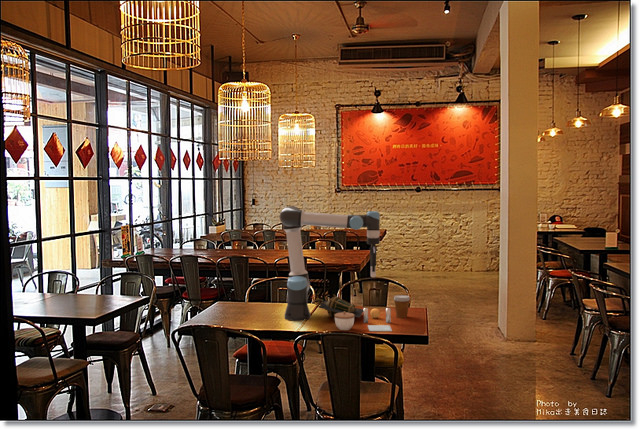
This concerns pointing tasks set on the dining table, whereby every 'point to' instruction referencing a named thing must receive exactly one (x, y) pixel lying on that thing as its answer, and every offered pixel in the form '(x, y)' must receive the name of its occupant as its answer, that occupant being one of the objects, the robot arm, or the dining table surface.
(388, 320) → the post right
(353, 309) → the lantern
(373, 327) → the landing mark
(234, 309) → the dining table surface
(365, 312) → the post left
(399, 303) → the disposable coffee cup
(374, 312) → the ball
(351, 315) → the lidded jar
